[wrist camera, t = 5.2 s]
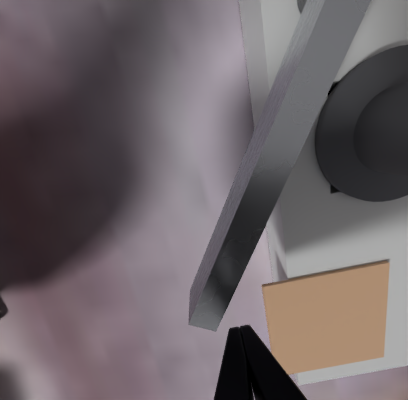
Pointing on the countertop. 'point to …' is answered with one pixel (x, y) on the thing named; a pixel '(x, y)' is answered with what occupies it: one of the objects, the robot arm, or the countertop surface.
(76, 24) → the countertop surface
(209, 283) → the lever with ball end
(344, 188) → the plug
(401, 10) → the white flat board
